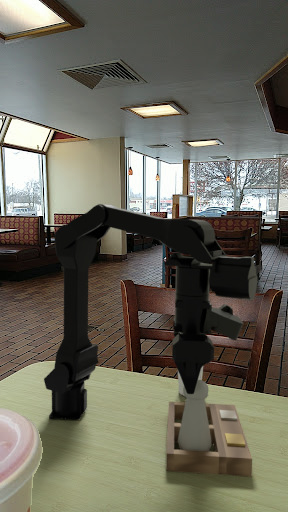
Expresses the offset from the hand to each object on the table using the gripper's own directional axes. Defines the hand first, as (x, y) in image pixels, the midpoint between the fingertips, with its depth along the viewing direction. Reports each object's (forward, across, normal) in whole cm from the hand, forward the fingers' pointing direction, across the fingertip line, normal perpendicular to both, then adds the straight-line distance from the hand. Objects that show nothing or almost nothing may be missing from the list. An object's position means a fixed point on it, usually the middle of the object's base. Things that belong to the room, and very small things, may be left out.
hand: (189, 381), depth 66 cm
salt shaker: (+13, -1, -1) cm, 13 cm away
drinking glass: (+13, +23, -1) cm, 27 cm away
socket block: (+13, +3, -3) cm, 13 cm away
